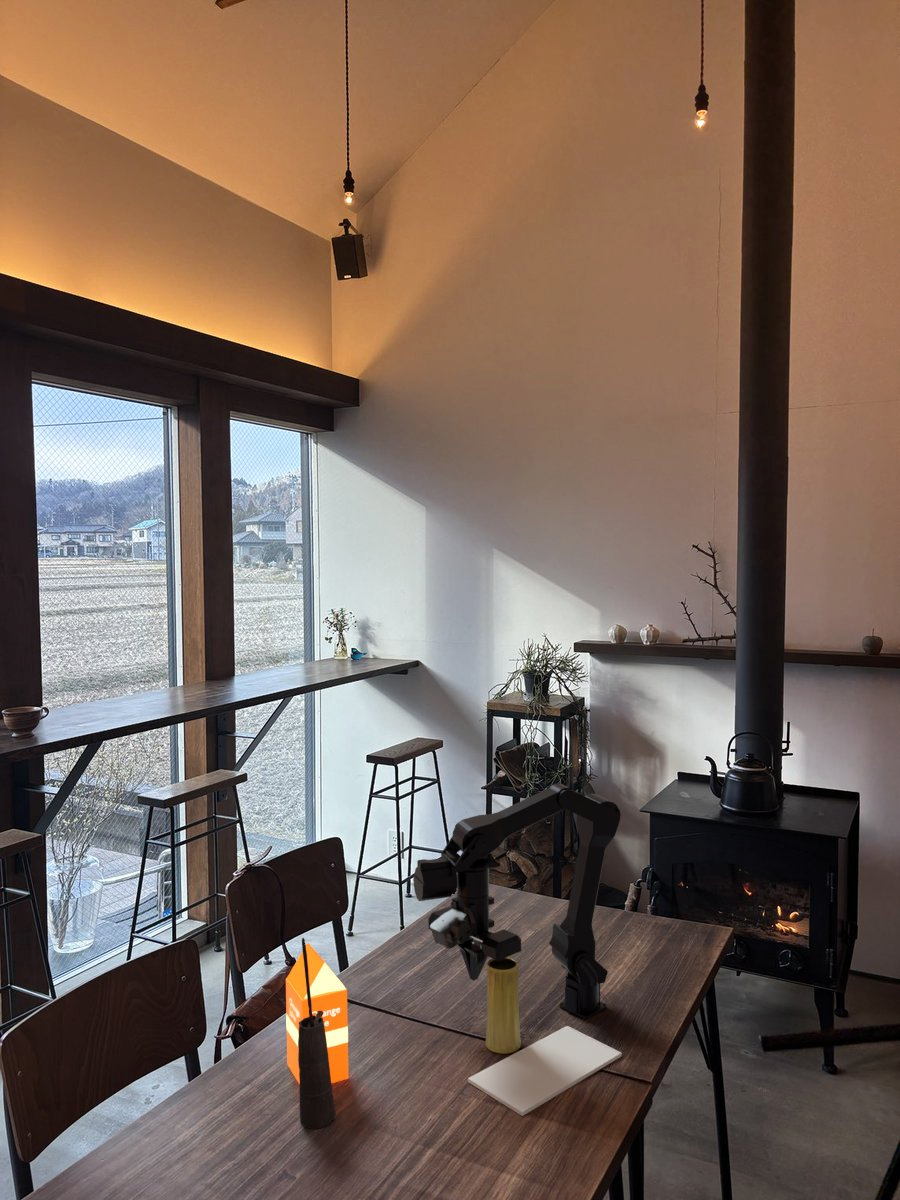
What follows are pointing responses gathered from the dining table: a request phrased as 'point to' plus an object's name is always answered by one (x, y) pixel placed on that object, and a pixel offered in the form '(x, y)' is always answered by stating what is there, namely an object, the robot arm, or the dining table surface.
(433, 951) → the dining table surface
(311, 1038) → the butter churn
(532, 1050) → the mat
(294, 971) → the orange juice
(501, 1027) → the vase
